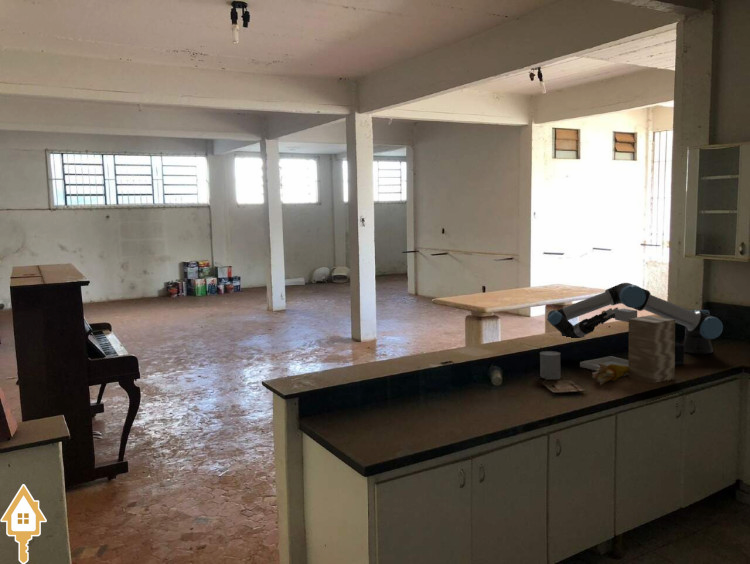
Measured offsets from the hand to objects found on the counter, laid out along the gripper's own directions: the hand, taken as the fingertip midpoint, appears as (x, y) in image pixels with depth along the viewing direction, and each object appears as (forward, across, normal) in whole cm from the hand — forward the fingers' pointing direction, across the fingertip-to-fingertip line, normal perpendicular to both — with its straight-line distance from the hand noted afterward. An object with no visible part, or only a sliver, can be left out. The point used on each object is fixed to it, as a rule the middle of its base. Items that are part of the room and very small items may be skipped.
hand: (615, 310), depth 299 cm
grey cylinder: (-19, +38, -24) cm, 48 cm away
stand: (+4, 0, -36) cm, 36 cm away
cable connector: (-1, 0, -5) cm, 5 cm away
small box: (-8, -32, -30) cm, 45 cm away
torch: (-2, +18, -33) cm, 38 cm away
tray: (-15, 0, -26) cm, 30 cm away
